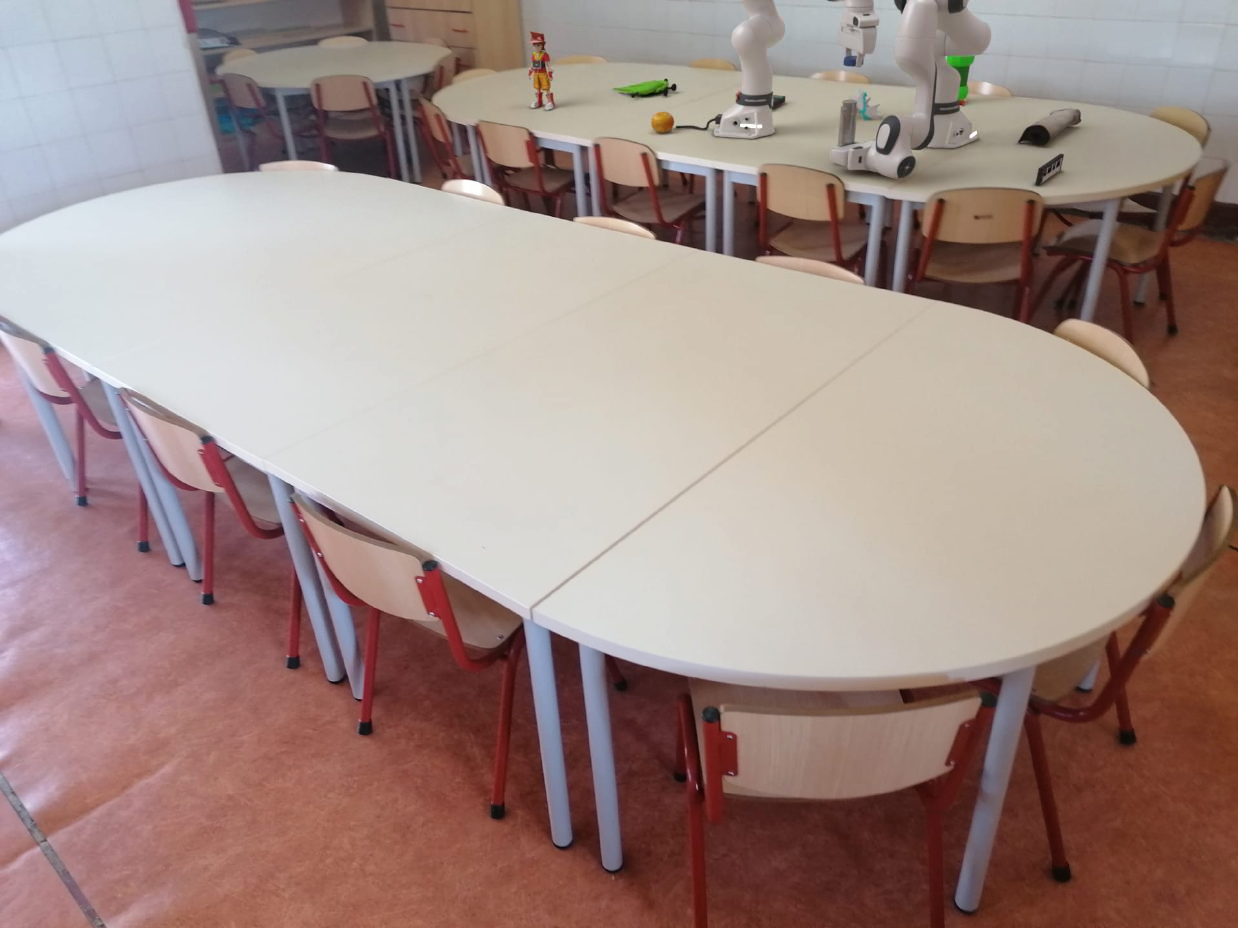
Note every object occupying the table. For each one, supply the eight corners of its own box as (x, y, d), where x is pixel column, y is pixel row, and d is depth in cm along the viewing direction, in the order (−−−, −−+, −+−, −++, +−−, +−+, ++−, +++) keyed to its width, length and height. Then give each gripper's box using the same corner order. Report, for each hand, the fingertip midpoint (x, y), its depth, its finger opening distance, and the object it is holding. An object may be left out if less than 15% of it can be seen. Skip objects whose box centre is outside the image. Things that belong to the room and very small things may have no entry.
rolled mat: (1047, 113, 322) (1072, 96, 314) (1061, 134, 323) (1087, 117, 314) (1013, 137, 305) (1039, 118, 297) (1028, 159, 305) (1054, 142, 297)
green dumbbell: (973, 101, 354) (984, 32, 339) (955, 106, 349) (966, 36, 335) (952, 97, 361) (962, 29, 346) (934, 102, 356) (944, 33, 342)
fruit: (644, 124, 337) (655, 105, 334) (651, 127, 345) (662, 108, 342) (662, 136, 336) (673, 117, 333) (668, 139, 344) (680, 120, 341)
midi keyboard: (1039, 185, 269) (1043, 168, 266) (1035, 184, 270) (1038, 168, 267) (1060, 170, 279) (1064, 154, 277) (1056, 169, 280) (1060, 153, 277)
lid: (855, 67, 277) (856, 60, 276) (839, 65, 281) (840, 58, 279) (867, 64, 280) (867, 57, 279) (850, 62, 284) (851, 55, 283)
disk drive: (770, 111, 358) (785, 102, 368) (771, 104, 356) (785, 95, 366) (747, 109, 362) (762, 100, 372) (747, 102, 361) (762, 93, 371)
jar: (845, 166, 295) (851, 104, 283) (832, 163, 298) (838, 101, 287) (855, 163, 297) (861, 101, 286) (843, 160, 301) (848, 98, 290)
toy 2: (686, 85, 398) (631, 84, 414) (685, 72, 395) (629, 72, 411) (651, 104, 381) (596, 103, 397) (650, 92, 378) (594, 91, 394)
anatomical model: (845, 88, 346) (871, 81, 345) (848, 116, 352) (873, 109, 351) (857, 98, 334) (883, 90, 333) (859, 126, 340) (885, 119, 339)
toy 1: (525, 109, 381) (517, 32, 364) (534, 104, 388) (527, 28, 371) (550, 110, 377) (543, 32, 360) (559, 105, 384) (553, 28, 367)
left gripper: (834, 12, 280) (830, 60, 288) (862, 22, 264) (857, 72, 272) (853, 10, 281) (849, 58, 289) (882, 20, 265) (876, 70, 273)
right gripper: (898, 139, 287) (869, 130, 297) (848, 151, 280) (820, 141, 290) (896, 159, 290) (867, 150, 301) (846, 171, 283) (818, 161, 293)
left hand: (853, 65), depth 280 cm, fingers closed on lid, 6 cm apart
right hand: (843, 146), depth 295 cm, fingers closed on jar, 5 cm apart
